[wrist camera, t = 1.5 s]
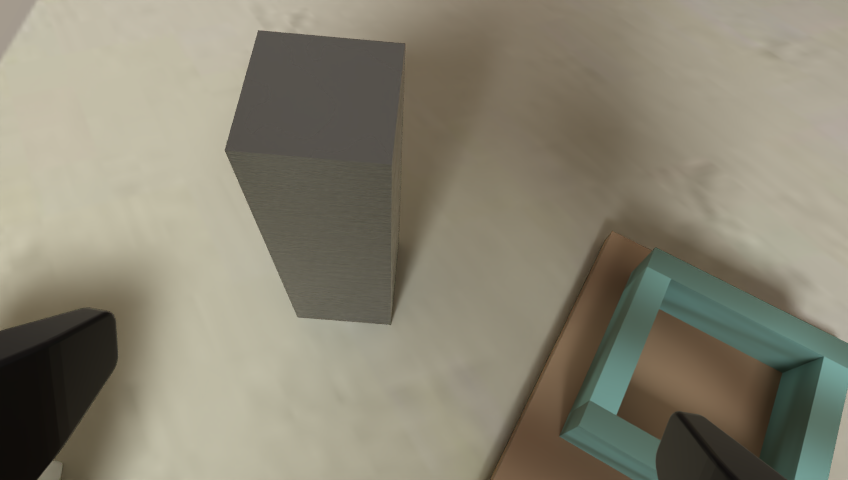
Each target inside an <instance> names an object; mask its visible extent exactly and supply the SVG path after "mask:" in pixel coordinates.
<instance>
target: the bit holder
mask: <svg viewBox="0 0 848 480" xmlns="http://www.w3.org/2000/svg"><path fill="white" fill-rule="evenodd" d="M847 388H848V343H846V342H844V341H842V340H840V339H838V338H836V337H834V336H832V335H830V334H828V333H826V332H824V331H822V330H820V329H818V328H816V327H814V326H812V325H810V324H808V323H806V322H804V321H802V320H800V319H798V318H796V317H794V316H792V315H790V314H788V313H786V312H784V311H782V310H780V309H778V308H776V307H774V306H772V305H770V304H768V303H766V302H764V301H762V300H760V299H758V298H756V297H754V296H752V295H750V294H748V293H746V292H744V291H742V290H740V289H738V288H736V287H734V286H732V285H730V284H728V283H726V282H724V281H722V280H720V279H718V278H716V277H714V276H712V275H710V274H708V273H706V272H704V271H702V270H700V269H698V268H696V267H694V266H692V265H690V264H688V263H686V262H684V261H682V260H680V259H678V258H676V257H674V256H672V255H670V254H668V253H666V252H664V251H662V250H660V249H658V248H656V247H655V248H654V249H653V250H652V251H651V250H649V249H647V248H645V247H643V246H641V245H639V244H637V243H635V242H633V241H631V240H629V239H627V238H625V237H623V236H621V235H619V234H617V233H615V232H613V231H612V232H611V234H610V235H609V236H608V238H607V239H606V240H605V242H604V244H603V246H602V248H601V250H600V252H599V254H598V256H597V258H596V261H595V263H594V265H593V267H592V269H591V271H590V273H589V275H588V277H587V279H586V281H585V283H584V285H583V288H582V290H581V292H580V294H579V296H578V298H577V300H576V302H575V304H574V306H573V308H572V310H571V312H570V315H569V317H568V319H567V321H566V323H565V325H564V327H563V329H562V331H561V333H560V335H559V337H558V339H557V342H556V344H555V346H554V348H553V350H552V352H551V354H550V356H549V358H548V360H547V362H546V364H545V366H544V368H543V371H542V373H541V375H540V377H539V379H538V381H537V383H536V385H535V387H534V389H533V391H532V393H531V395H530V398H529V400H528V402H527V404H526V406H525V408H524V410H523V412H522V414H521V416H520V418H519V420H518V422H517V425H516V427H515V429H514V431H513V433H512V435H511V437H510V439H509V441H508V443H507V445H506V447H505V449H504V452H503V454H502V456H501V458H500V460H499V462H498V464H497V466H496V468H495V470H494V472H493V474H492V476H491V479H490V480H658V477H657V471H656V464H655V459H656V452H657V449H658V446H659V444H660V441H661V439H662V436H663V433H664V431H665V428H666V426H667V423H668V420H669V418H670V416H671V415H672V414H673V413H674V412H676V411H682V412H688V413H694V414H699V415H702V416H704V417H705V418H707V419H708V420H709V421H710V422H712V423H713V424H714V425H716V426H717V427H718V428H720V429H721V430H722V431H724V432H725V433H726V434H728V435H729V436H730V437H732V438H733V439H734V440H736V441H737V442H738V443H740V444H741V445H742V446H743V447H745V448H746V449H747V450H749V451H750V452H751V453H753V454H754V455H755V456H757V457H758V458H759V459H761V460H762V461H763V462H765V463H766V464H767V465H769V466H770V467H771V468H773V469H774V470H775V471H777V472H778V473H779V474H780V475H782V476H783V477H784V478H786V479H787V480H828V477H829V472H830V467H831V463H832V458H833V453H834V449H835V444H836V439H837V435H838V430H839V425H840V421H841V416H842V411H843V407H844V402H845V397H846V393H847Z"/></svg>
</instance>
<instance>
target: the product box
mask: <svg viewBox="0 0 848 480" xmlns="http://www.w3.org/2000/svg"><path fill="white" fill-rule="evenodd" d="M62 467H63V463H62V462H60V461H52V462H51V463H50V465H49V466H48V467H47V468H46V470H45V471H44V472H43V473H42V475H41V476H40V477H39V478H38V480H60V479H61V474H62Z"/></svg>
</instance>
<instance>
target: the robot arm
mask: <svg viewBox="0 0 848 480" xmlns="http://www.w3.org/2000/svg"><path fill="white" fill-rule="evenodd" d="M117 359H118V346H117V331H116V320H115V317H114V315H113V314H112V313H111V312H110V311H106V310H100V309H94V308H81V309H78V310H74V311H71V312H67V313H63V314H60V315H56V316H52V317H49V318H45V319H41V320H38V321H34V322H31V323H27V324H23V325H20V326H16V327H12V328H9V329H5V330H2V331H0V480H38V478H39V477H40V476H41V475H42V473H43V472H44V471H45V470H46V468H47V467H48V466H49V465H50V463H51V462H52V461H53V460H54V458H55V457H56V456H57V454H58V453H59V452H60V450H61V449H62V448H63V446H64V445H65V443H66V442H67V441H68V439H69V438H70V436H71V435H72V433H73V432H74V430H75V429H76V427H77V426H78V424H79V423H80V421H81V420H82V418H83V416H84V415H85V413H86V412H87V410H88V409H89V407H90V406H91V404H92V403H93V401H94V400H95V398H96V397H97V395H98V394H99V392H100V391H101V389H102V387H103V386H104V384H105V383H106V381H107V380H108V378H109V377H110V375H111V374H112V372H113V370H114V369H115V366H116V363H117ZM655 464H656V471H657V477H658V480H787V479H786V478H784V477H783V476H782V475H780V474H779V473H778V472H777V471H775V470H774V469H773V468H771V467H770V466H769V465H767V464H766V463H765V462H763V461H762V460H761V459H759V458H758V457H757V456H755V455H754V454H753V453H751V452H750V451H749V450H747V449H746V448H745V447H743V446H742V445H741V444H740V443H738V442H737V441H736V440H734V439H733V438H732V437H730V436H729V435H728V434H726V433H725V432H724V431H722V430H721V429H720V428H718V427H717V426H716V425H714V424H713V423H712V422H710V421H709V420H708V419H707V418H705V417H704V416H702V415H699V414H694V413H688V412H682V411H676V412H674V413H673V414H672V415H671V416H670V418H669V420H668V423H667V426H666V428H665V431H664V433H663V436H662V439H661V441H660V444H659V446H658V449H657V452H656V459H655Z"/></svg>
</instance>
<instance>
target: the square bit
mask: <svg viewBox="0 0 848 480" xmlns="http://www.w3.org/2000/svg"><path fill="white" fill-rule="evenodd" d="M404 64H405V44H404V43H393V42H382V41H370V40H359V39H348V38H337V37H326V36H315V35H304V34H292V33H281V32H270V31H259V30H258V33H257V37H256V40H255V44H254V48H253V51H252V55H251V58H250V62H249V65H248V69H247V73H246V76H245V80H244V83H243V87H242V91H241V94H240V98H239V101H238V105H237V109H236V112H235V116H234V119H233V123H232V126H231V130H230V134H229V137H228V141H227V144H226V148H225V152H226V154H227V157H228V159H229V161H230V163H231V166H232V168H233V170H234V173H235V175H236V177H237V179H238V182H239V184H240V186H241V189H242V191H243V193H244V195H245V198H246V200H247V202H248V205H249V207H250V209H251V211H252V214H253V216H254V218H255V221H256V223H257V225H258V228H259V230H260V232H261V234H262V237H263V239H264V241H265V244H266V246H267V248H268V250H269V253H270V255H271V257H272V260H273V262H274V264H275V266H276V269H277V271H278V273H279V276H280V278H281V280H282V282H283V285H284V287H285V289H286V292H287V294H288V296H289V299H290V301H291V303H292V305H293V308H294V310H295V312H296V315H297V317H301V318H314V319H326V320H339V321H351V322H364V323H376V324H388V325H391V317H392V307H393V296H394V286H395V276H396V265H397V255H398V245H399V219H400V188H401V157H402V126H403V95H404Z"/></svg>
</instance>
